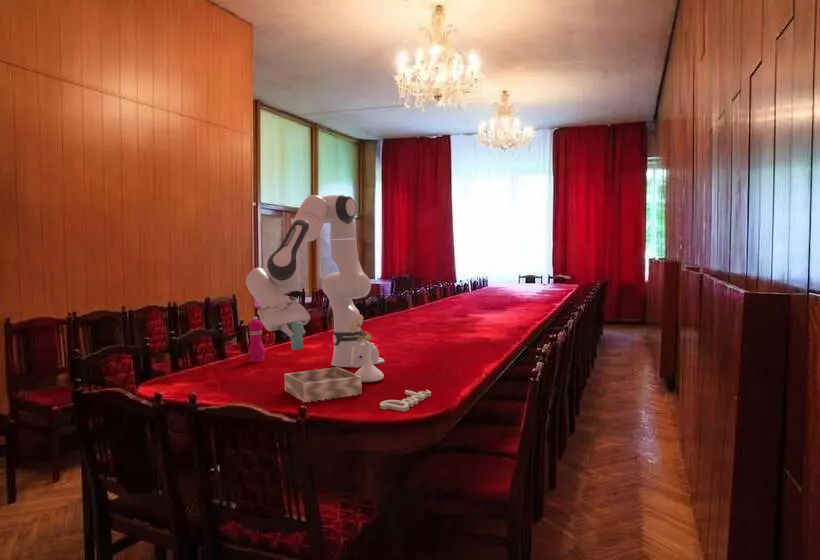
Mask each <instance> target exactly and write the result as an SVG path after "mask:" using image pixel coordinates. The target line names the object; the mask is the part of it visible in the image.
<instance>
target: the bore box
mask: <svg viewBox="0 0 820 560" xmlns="http://www.w3.org/2000/svg"><path fill="white" fill-rule="evenodd" d="M362 383H363V382H361V376H359V375H356V374H355V373H353V372H352V371H348V370H347V369H344V368H342V367H337V366H334V367H329V368H321V369H313V370H304V371H297V372H290V373H289V372H288V373H284V391H285V392H286V393H288V394H289V393H290V394H289V395H291V396H293V397H294V396H295V398H296V399H298V400H299V399H300V400H299V401H301V400H302V401H301V402H302V403H304V402H305V403H306V402H308V403H312V402H311V401H314V402H318V401H317V400H321V401H326V400H325V399H327V400H333V399H332V398H334V399H339V398H338V397H340V398H346V396H347V397H352V395H353V396H358V395H359V394H360V395H362V394H363V392H362V391H363V388H362V387H363V385H362ZM305 403H304V404H305ZM306 404H307V403H306Z"/></svg>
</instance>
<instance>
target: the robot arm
mask: <svg viewBox="0 0 820 560" xmlns="http://www.w3.org/2000/svg"><path fill="white" fill-rule="evenodd" d="M356 213H357V204H356V202H355V200H354V199H353V197H352V196H351V195H348V194H347V195H346V194H340V195H337V194H334V195H333V194H330V195H325V196H320V195H317V194H312V195H309V196H307V197H306V198H305V199H304V201H302V203H301V205H300V206H299V208H298V210H297V212H296V214H295V215H294V218H293V221H292V223H291V226H290V228H289V229H288V231H287V232H286V235H285V237H284V239H283V240H282V242H281V244H280V245H279V247H278V248H277V249H276V250H274V252H273V253H271V254H270V255H269V257H268V259H267V263H266V264H267V265H266V266H267V268H262V267H255V268H254V269H251V270H250V271H249V272H248V274H247V275H246V278H245V285H246V287H247V289H248V291H249V293H250V294H251V295H252V297H253V298H254V299H255V301H258V303H259V305H260V307H258V309H257V311H256V313H257V315H258V316H259V321H261V322H262V324H263V327H264V328H265V330H267V331H268V332H272V331H278V330H280V331H281V332H283V333H284V334H286V335H287V336H288V337H289V338H291V337H294V335H295V332H294V331H293V330H291V323H294V322H302V332H303V336H304V335H305V334H306V330H305V328H304V326H306V325H307V324H308V323H309V322H310V320H311V315H310V313H308V310H307V309H305V307H304V306H303V305H302V304H301V303H299V302H300V301H299V299H298V298H297V297H294V296H289V295H287V294H288V293H290V292H292V291H294V290H295V289H296V288H297V286H298V285H299V274H298V273H299V272H298V268H297V254H298V252H299V250H300V249H301V246H302V244H303V242H304V243H309V242H312V241H315V240H316V239H317V237H319V234H320V233H321V231H322V229H323V226H324V224H330V230H329V231H330V232H329V240H330V256H331V257H330V258H331V260H332V262H334V263H335V265H336V267H337V269H338V271H336V272H335V271H334V272H331V273H328V274H326V275H325V276H324V277H322V278H323V279H322V280H321V290H322V291H323V293H324V294H325V295H326V297H327V298H328V301H329V304H330V307H331V310H332V315H333V317H332V318H333V331H332V332H333V333H332V341H333V355H332V360H331V363H330V364H331V366H333V367H339V368H361V367H362V366H363V365H364V363H365V353H364V349H363V347H362V346H361V344H362V343H366V341H365V339H364V338H363V339H362V341H361V342H356V340H357V339H358V338H359V337H360V336H363V334H364V337H365V336H366V335H368V334H369V332H368V331H363V330H362V331H363V334H362V331H361V329H360V327H361V326H360V327H359V329H358V330H357V331H356V332H354V333H352V332H350V330H351V329H349V328H350V326H351V325H352V324H353V323H352V322H353V321H355V319H356V317H357V316H358V315H359V316H360V310H359V309H358V308H357V307H356V306H355V304H354V301H353V300H356V299H361V298H365V297H367V296H368V295H369V293H370V291H371V289H372V282H371V280H370V278H369V277H368V275H366V273H365V272H364V270H363V268H362V266H361V262H360V259H359V253H358V242H357V241H358V238H357V228H356V224H355V220H354V219H355V216H356ZM367 343H371V342H370V341H369V340H368V341H367ZM371 362H372V364H373V365H374V366H375V365H380V364H383V363H385V359H384V358H382V357H380V355H379V350H378V348H377V347H376V346H375V344H374V345H373V347H372V351H371Z"/></svg>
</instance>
